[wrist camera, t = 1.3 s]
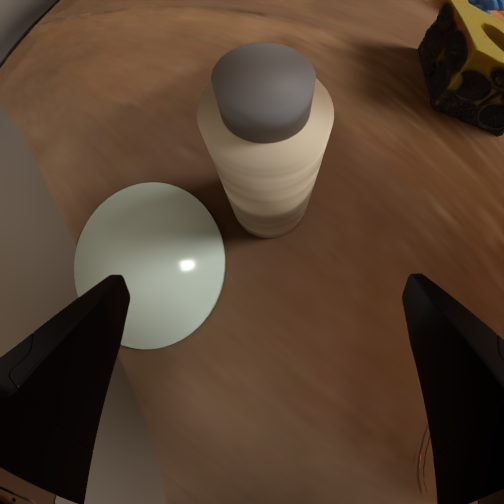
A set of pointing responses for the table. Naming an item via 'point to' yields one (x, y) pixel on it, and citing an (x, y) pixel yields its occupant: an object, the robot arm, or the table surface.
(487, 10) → the grapes
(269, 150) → the pepper mill
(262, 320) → the table surface
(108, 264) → the pale green coaster
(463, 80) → the black and yellow cube
